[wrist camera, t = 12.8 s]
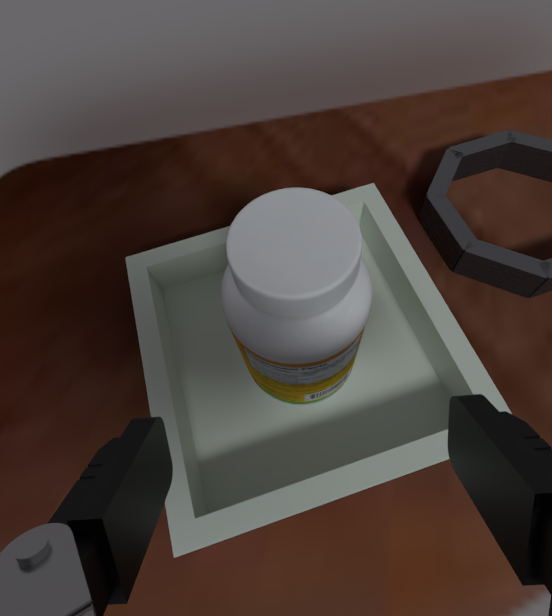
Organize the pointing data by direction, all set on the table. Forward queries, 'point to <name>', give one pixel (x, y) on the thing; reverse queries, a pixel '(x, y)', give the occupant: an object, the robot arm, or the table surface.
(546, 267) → the holder ring
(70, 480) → the table surface
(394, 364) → the tray
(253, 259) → the supplement bottle
